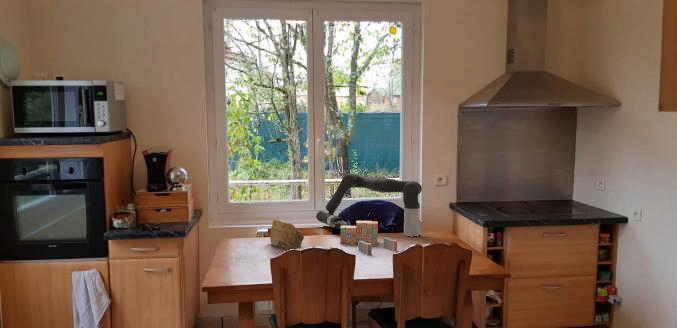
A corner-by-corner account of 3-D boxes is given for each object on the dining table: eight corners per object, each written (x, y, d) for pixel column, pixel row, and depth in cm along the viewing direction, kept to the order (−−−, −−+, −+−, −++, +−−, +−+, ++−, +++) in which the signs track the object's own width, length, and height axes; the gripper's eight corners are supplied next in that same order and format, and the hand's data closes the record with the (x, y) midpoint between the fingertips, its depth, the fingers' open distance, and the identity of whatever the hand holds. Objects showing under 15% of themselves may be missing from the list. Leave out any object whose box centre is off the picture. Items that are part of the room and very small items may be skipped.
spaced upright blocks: (386, 246, 254) (386, 236, 253) (397, 250, 245) (397, 240, 244) (358, 250, 245) (358, 240, 245) (368, 254, 237) (368, 244, 236)
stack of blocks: (340, 243, 260) (340, 222, 259) (340, 241, 266) (340, 220, 265) (377, 244, 258) (377, 223, 257) (377, 241, 264) (377, 220, 264)
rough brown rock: (310, 251, 246) (312, 223, 246) (281, 252, 238) (283, 224, 238) (294, 243, 266) (296, 217, 266) (267, 243, 259) (269, 217, 259)
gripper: (325, 216, 287) (338, 222, 271) (344, 215, 293) (357, 220, 277) (325, 228, 287) (338, 234, 272) (344, 226, 293) (357, 232, 278)
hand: (347, 227), depth 275 cm, fingers closed
